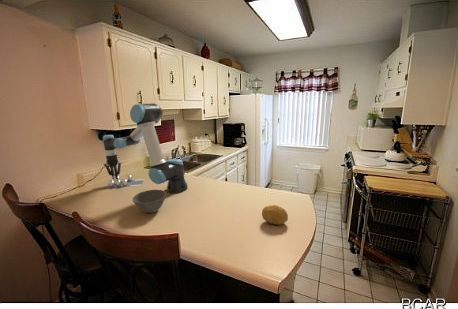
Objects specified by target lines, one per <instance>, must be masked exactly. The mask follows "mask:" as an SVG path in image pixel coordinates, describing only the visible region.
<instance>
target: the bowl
mask: <svg viewBox="0 0 458 309" xmlns="http://www.w3.org/2000/svg"><path fill="white" fill-rule="evenodd" d="M166 195H167V193H166V191H165V190H162V189H149V190H143V191H141V192H139V193H137V194H135V195H134V196H133V197H132V202H133V203H134V205H135V206H136V207H137V208H138V209H139V210H140V211H142V212H143V213H146V214H152V213H155V212H157V211H159V210H160V209H161V208H162V206H163V204H164V202H165V198H166Z"/></svg>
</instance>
